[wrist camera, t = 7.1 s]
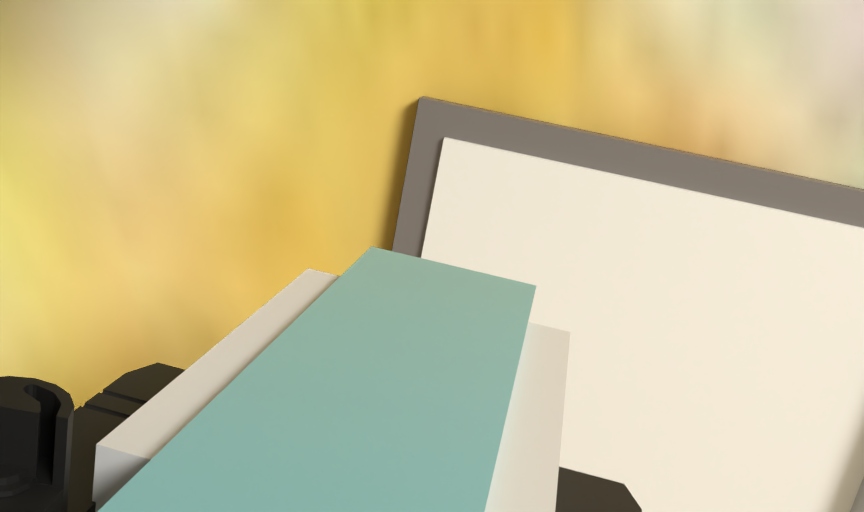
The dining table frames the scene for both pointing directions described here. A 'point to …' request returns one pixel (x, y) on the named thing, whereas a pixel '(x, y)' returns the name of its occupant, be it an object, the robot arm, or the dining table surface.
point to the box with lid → (358, 402)
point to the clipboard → (665, 303)
